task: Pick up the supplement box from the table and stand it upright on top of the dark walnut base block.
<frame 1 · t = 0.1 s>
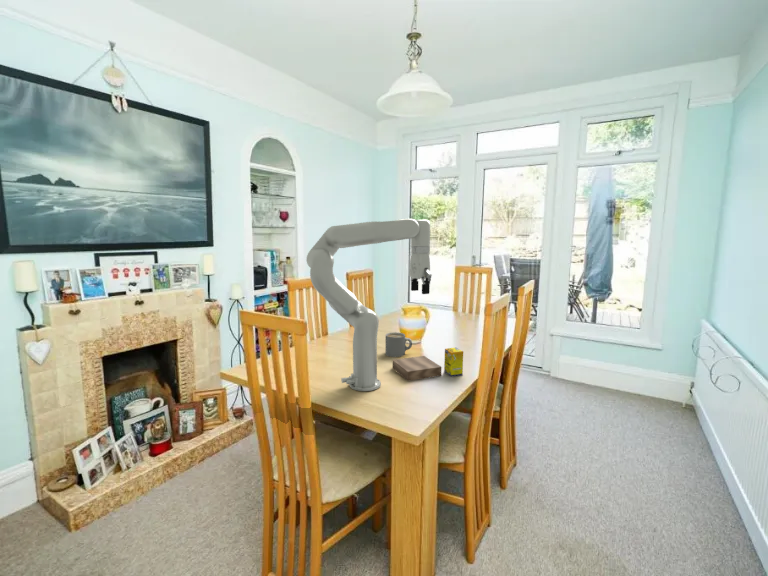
hand: (419, 292, 157), 37 cm above the table, tool pointing down, fingers open, 9 cm apart
supplement box: (453, 374, 166), on the table
walnut base: (416, 371, 168), on the table
coffee mug: (398, 354, 193), on the table
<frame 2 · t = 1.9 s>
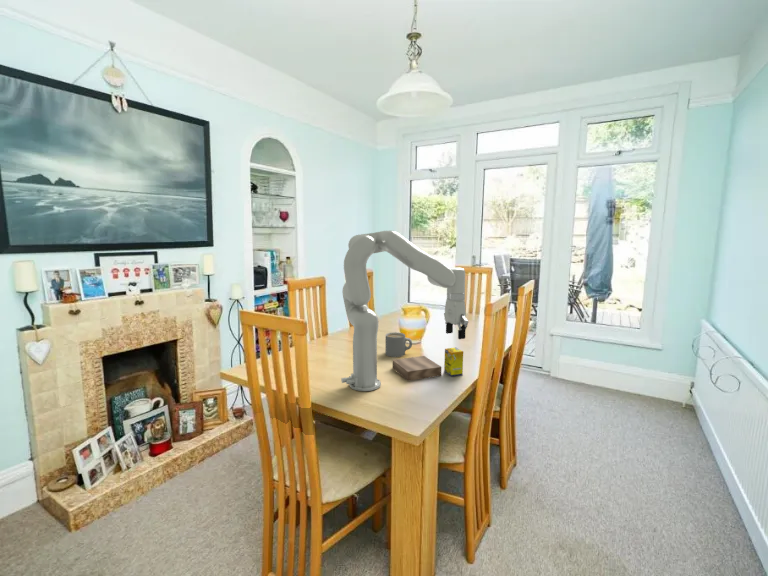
hand: (455, 335, 164), 17 cm above the table, tool pointing down, fingers open, 9 cm apart
nothing on the table moved.
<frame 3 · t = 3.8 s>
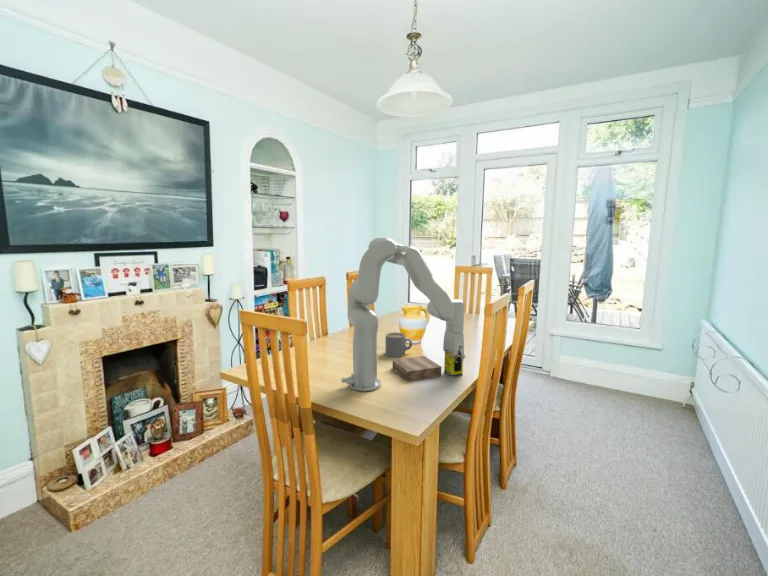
hand: (453, 368, 166), 3 cm above the table, tool pointing down, fingers closed on supplement box, 6 cm apart
supplement box: (453, 374, 166), on the table, touching gripper
everything else where it was.
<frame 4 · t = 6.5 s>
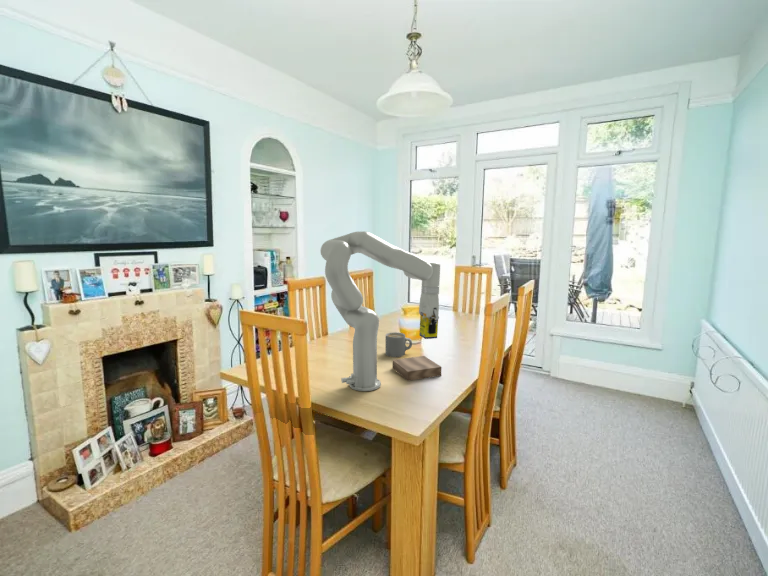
hand: (428, 331, 165), 19 cm above the table, tool pointing down, fingers closed on supplement box, 6 cm apart
supplement box: (428, 337, 165), point 16 cm above the table, touching gripper
everything else where it was.
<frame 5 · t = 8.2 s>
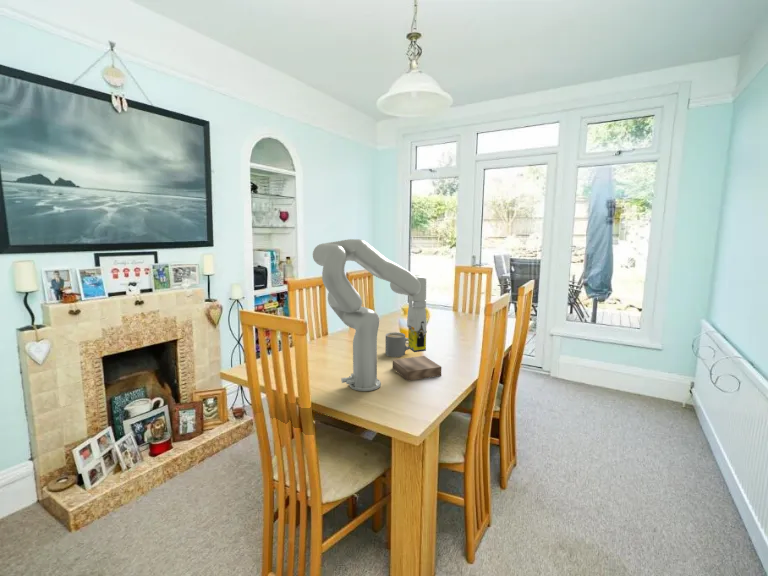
hand: (417, 344, 167), 13 cm above the table, tool pointing down, fingers closed on supplement box, 6 cm apart
supplement box: (417, 350, 167), point 10 cm above the table, touching gripper
everything else where it was.
when the fingers open (8 cm above the table, at t = 9.4 s): supplement box drops 2 cm, resting on walnut base.
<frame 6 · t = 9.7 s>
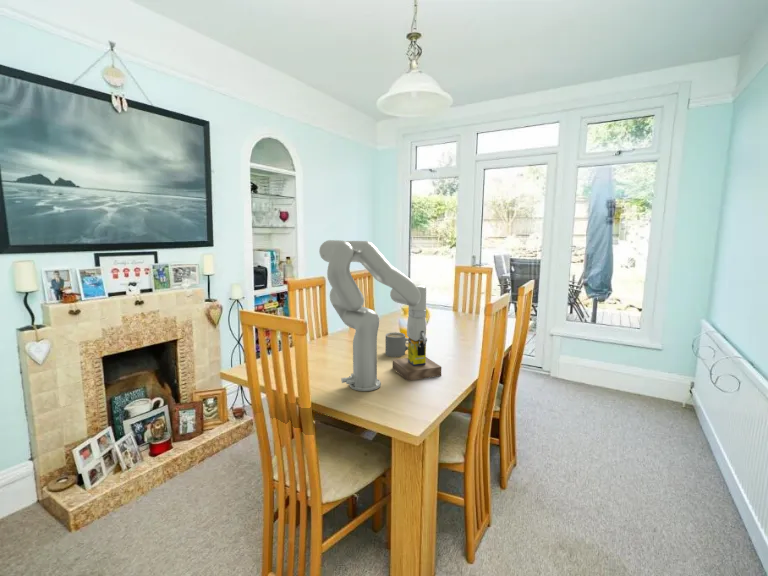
hand: (416, 352, 167), 9 cm above the table, tool pointing down, fingers open, 8 cm apart
supplement box: (416, 363, 168), point 4 cm above the table, touching walnut base
everything else where it was.
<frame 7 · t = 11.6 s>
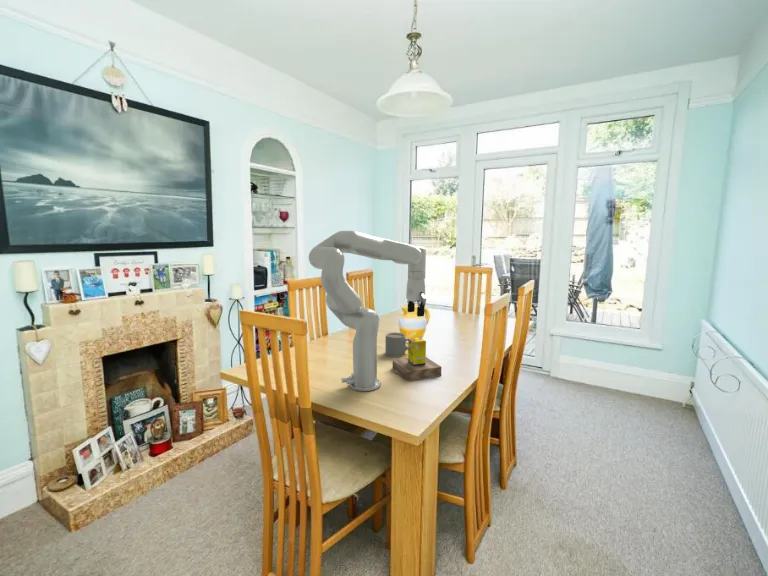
hand: (415, 314, 166), 26 cm above the table, tool pointing down, fingers open, 9 cm apart
nothing on the table moved.
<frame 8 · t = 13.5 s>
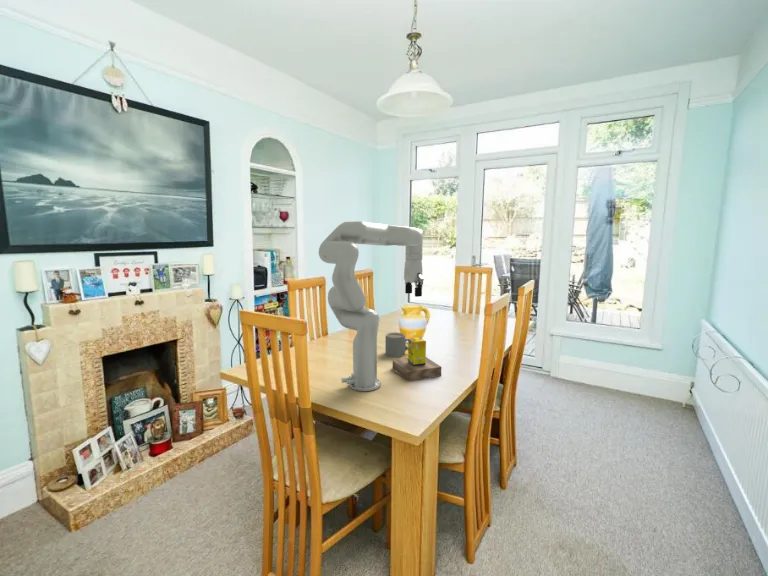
hand: (413, 294, 172), 33 cm above the table, tool pointing down, fingers open, 9 cm apart
nothing on the table moved.
at the end: supplement box inside the target area on the walnut base (0.3 cm from its centre), point 3.8 cm above the walnut base's base; supplement box tilted 0°; the gripper is holding nothing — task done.
